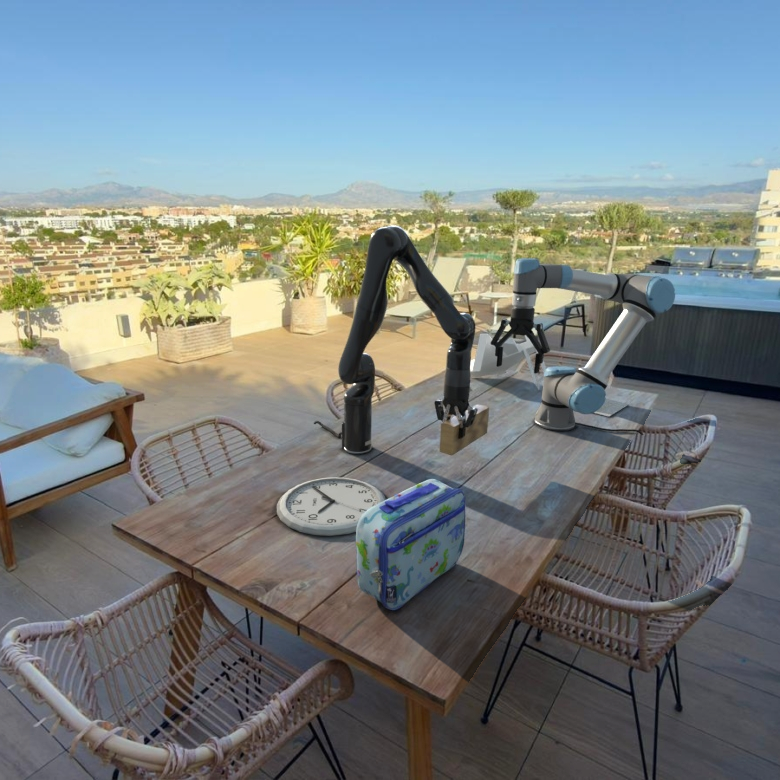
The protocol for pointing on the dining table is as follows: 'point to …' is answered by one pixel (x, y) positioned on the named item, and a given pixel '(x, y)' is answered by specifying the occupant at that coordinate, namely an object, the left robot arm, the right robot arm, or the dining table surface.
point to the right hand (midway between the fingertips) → (517, 369)
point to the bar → (473, 432)
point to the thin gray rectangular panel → (610, 408)
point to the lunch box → (409, 541)
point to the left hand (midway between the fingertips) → (453, 435)
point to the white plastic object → (511, 355)
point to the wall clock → (327, 505)
